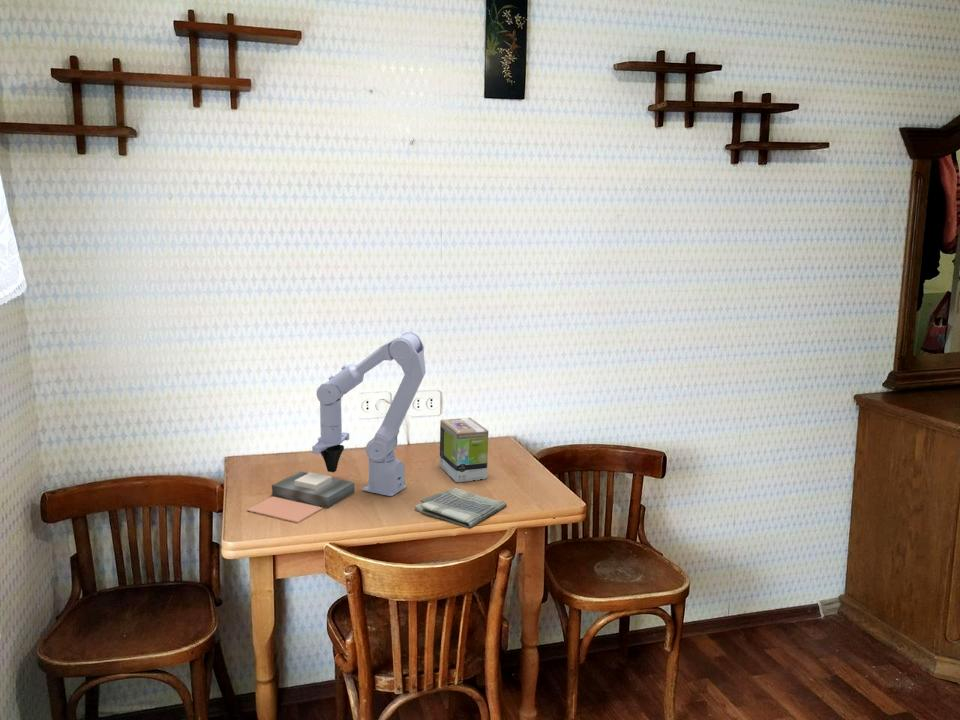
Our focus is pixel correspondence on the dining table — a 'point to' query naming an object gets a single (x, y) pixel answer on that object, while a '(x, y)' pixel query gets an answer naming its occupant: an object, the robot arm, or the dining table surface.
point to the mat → (285, 509)
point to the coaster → (313, 481)
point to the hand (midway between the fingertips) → (331, 471)
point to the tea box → (463, 449)
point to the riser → (313, 491)
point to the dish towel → (460, 507)
